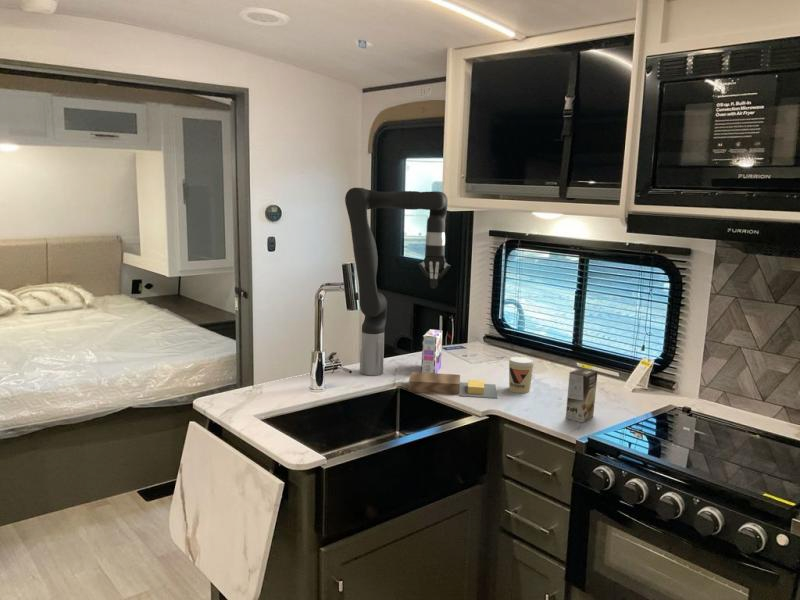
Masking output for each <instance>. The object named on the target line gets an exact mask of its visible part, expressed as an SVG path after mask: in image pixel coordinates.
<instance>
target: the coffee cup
mask: <svg viewBox="0 0 800 600" xmlns="http://www.w3.org/2000/svg"><path fill="white" fill-rule="evenodd" d="M534 364H535V363H534V360H533V359H532V358H530V357H525V356H513V357H510V358H509V359H508V365H509V366H508V369H509V371H508V373H509V374H508V384H509V387H508V388H509V390H510V391H511V392H512V393H516V394H526V393H530V390H531V384H532V378H533V371H534Z"/></svg>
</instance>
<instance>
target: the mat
mask: <svg viewBox="0 0 800 600" xmlns="http://www.w3.org/2000/svg"><path fill="white" fill-rule="evenodd" d="M458 395H459V397H464V398H466V397H467V398H481V399H482V398H484V399H496V400H497V399H499V397H498V392H497V385H496V384H493V383H484V394H474V393H468V382H463V381H462V382H461V381H460V392H459V394H458Z"/></svg>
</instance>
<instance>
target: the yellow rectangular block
mask: <svg viewBox="0 0 800 600" xmlns="http://www.w3.org/2000/svg"><path fill="white" fill-rule="evenodd" d="M484 382H485V380H479V379H467V383H468V393H474V394H484V384H485V383H484Z"/></svg>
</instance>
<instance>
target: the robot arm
mask: <svg viewBox="0 0 800 600" xmlns="http://www.w3.org/2000/svg"><path fill="white" fill-rule="evenodd" d="M344 201H345V208H346V211H347V214H348V215H347V216H348V219H349V224H350V232H351V240H352V248H353V257H354V262H355V268H356V276H357V281H358V296H359V298H358V299H359V300H358V301H359V309H360V311H361V312H362V314H363V315H364V319H363V322H362V325H361V347H360V348H361V349H360V351H359V353H360V354H359V374H360V375H366V376H380V375H383V374H384V362H385V361H384V360H385V359H384V356H385V355H384V354H385V328H386V323H387V312H388V301H387V299H386V297H385V295H384V294H383V293H382V292H379V291H378V287H377V273H378V263H379V261H378V260H379V256H378V249H377V244H376V243H377V242H376V240H375V236H374V234H373V232H372V230H371V227H370V224H369V219H368V210H372V209H382V208H383V209H395V210H397V209H398V210H409V211H410V210H425V211H427V210H428V211H429V216H428V218H427V221H426V235H425V246H424V247H425V249H424V252H425V253H424V258H423V261H422V262H421V263H419V264H418V267H419V269H420V270H421V272H422V273H423V275H424V276H425V277H426V278H429V287H430V288H431V289H436V288H437V287H438V279H441V278H443V276H444V275H445V274H446V273H447V271H448V270H449V269H450V268H451V265H450V264H448V262H446V261H447V260H446V257H445V254H446V253H445V251H446V217H447V211H448V205H449V203H448V197H447V195H446V193H444V192H442V191H434V190H433V191H415V190H414V191H413V190H398V191H397V190H396V191H377V190H371V189H366V188H364V187H352V188H349V190H347V192H346V193H345V196H344ZM442 267H443V268H444V269H443V270H442V271H441V272H440V273H439V270H441V269H442ZM426 268H427V269H428V270H429V272H428V271H427V269H426Z"/></svg>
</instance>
